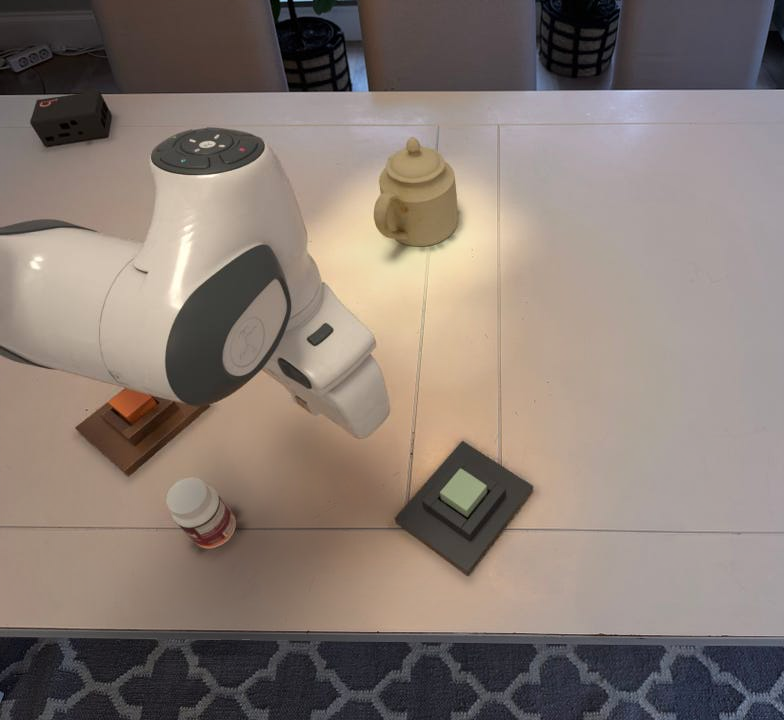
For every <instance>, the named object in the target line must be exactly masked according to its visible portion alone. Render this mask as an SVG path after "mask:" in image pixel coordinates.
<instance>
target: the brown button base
mask: <svg viewBox="0 0 784 720" xmlns="http://www.w3.org/2000/svg"><path fill="white" fill-rule="evenodd" d="M125 389H126V388H123V389H122V390H121V391H119V392H118V393H117V394H115V396H113V397H112V398H111V399H110V400H108V401H107V402H106V403H104V404H103V405H102V406H100V407H99V408H98V409H97V410H95V411H94V412H93V413H91V415H89V416H88V417H87V418H85V419H84V420H83V421H82V422H80V423H79V424H78V425H76V426H75V427H74V429H75V430H76V431H77V432H78V433H79V434H80V435H81V436H82V437H84V439H85V440H87V441H88V442H89V443H90V444H91V445H92V446H94V447H95V448H96V449H97V450H98V451H99V452H100V453H102V454H103V455H104V456H105V457H106V458H107V459H108V460H110V461H111V462H112V463H113V464H114V465H115V466H117V468H119V470H122V472H123V473H124V474H125V475H127V476H128V477H130V476H131V475H132V474H133V473H134V472H135V471H137V469H138V468H139V469H140V467H141V466H142V465H144V464H145V463H146V462H147V461H148V460H149V459H151V458H152V457H153V456H154V455H155V454H156V453H157V452H159V451H160V450H161V449H162V448H163V447H164V446H166V445H167V444H168V443H170V441H171V440H172V439H174V438H175V437H176V436H177V435H178V434H179V433H181V432H182V431H183V430H184V429H186V428H187V426H189V425H190V424H191V423H192V422H194V421H195V420H196V419H197V418H198V417H199V416H201V415H202V414H203V413H204V412H205V411H206V410H208V408H209V407H211V404H210V405H206V406H191V405H188V404H184V403H180V402H175V401H171V400H167V399H163V398H159V397H155V396H152V395H150V396H152V398H153V399H154V400H155V402H156V403H157V405H156V406H155V407H154V408H153V409H152V410H150V411H149V412H148V413H147V414H145V415H144V416H143V417H142V418H141V419H139V420H138V421H137V422H136V423H135V424H133V425H132V424H130V423H129V422H128V421H127V420H126V419H124V418H123V417H122V416H121V415H120V414H118V413H117V412H116V411H115V410H114V409H113V408H112V407H111V405H110V404H109V403H108V402H109V401H111V400H112V399H113V398H114V397H116V396H117V395H118V394H119V393H121V392H122V391H123V390H125Z"/></svg>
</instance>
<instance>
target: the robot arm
mask: <svg viewBox="0 0 784 720" xmlns="http://www.w3.org/2000/svg"><path fill="white" fill-rule="evenodd" d="M148 161H149V162H148V164H149V171H150V175H151V180H152V183H153V187H154V194H155V195H154V205H153V212H152V217H151V221H150V224H149V228H148V231H147V234H146V237H145V239H144V241H140V240H135V239H130V238H128V237H127V238H125V237H122V236H116V235H112V234H107V233H103V232H100V231H97V230H95V229H91V228H87V227H85V226H81V225H77V224H74V223H71V222H68V221H64V220H59V219H53V218H52V219H50V218H43V219H42V218H41V219H31V220H27V221H21V222H17V223H12V224H8V225H5V226H1V227H0V356H1V357H3V358H5V359H8V360H10V361H13V362H15V363H19V364H23V365H28V366H33V367H37V368H42V369H46V370H54V371H60V372H64V373H67V374H72V375H75V376H78V377H83V378H86V379H90V380H94V381H98V382H101V383H105V384H107V385H108V384H109V385H112V386H116V387H120V388H122V389H125V388H127V389H130V390H133V391H137V392H141V393H144V394H148V395H152V396H155V397H159V398H163V399H167V400H171V401H175V402H180V403H184V404H188V405H191V406H206V405H210V406H211V405H212V404H215V403H218V402H220V401H222V400H224V399H226V398H228V397H230V396H231V395H234V394H235V393H236V392H237V391H239V390H240V389H242V388H243V387H244V386H245V385H247V383H249V382H250V381H251V380H252V379H253V378H254V377H256V375H257V374H259V373H260V371H262V372H263V373H265V374H267V375H268V376H269V377H270V378H271V379H273V380H275V381H276V382H277V383H279V384H280V385H282V386H283V387H284V388H285V389H286V391H287V392H288V393H289V394H290V396H291V398H292V400H293V403H295V404H297V405H298V406H300V407H301V408H302V409H304V410H305V411H307V412H308V413H309V414H311V416H313V417H316V418H317V417H319V416H320V415H321V414H322V415H323V416H325V417H326V418H327V419H329V420H330V421H332V422H333V423H335V425H337V426H339V427H340V428H341V429H343V430H344V431H346V432H347V433H348V434H350V435H351V436H352V437H354V438H355V439H358V440H364V439H367V438H369V437H370V436H372V435H373V433H375V432H376V431H377V430H378V429H379V428H380V427H381V426H382V425H383V424H384V423H385V421H386V420H387V419H388V417H389V416H390V413H391V403H390V398H389V393H388V389H387V385H386V381H385V378H384V374H383V371H382V370H381V366H380V365H379V363H378V362H377V360H376V359H375V357H374V356H373V355H372V353H373V351H374V350H375V349H376V348H377V340H376V337H375V334H374V332H373V331H372V330H371V329H370V328H369V327H368V326H366V325H365V324H364V323H363V322H362V321H361V319H359V318H358V317H357V316H356V315H355V314H353V313H352V312H351V310H349V308H347V307H346V306H345V304H343V302H342V301H341V300H340V299H339V298H338V297H337V296H336V294H335V292H334V291H333V290H332V289H331V287H330V286H329V285H328V284H327V283H326V282H325V281H323V280H322V277H321V273H320V270H319V267H318V265H317V263H316V261H315V260H314V257H313V256H312V255H311V254H310V253H309V251H308V242H309V239H308V231H307V227H306V223H305V219H304V217H303V213H302V211H301V209H300V208H301V207H300V205H299V202H298V199H297V195H296V193H295V191H294V188H293V185H292V184H291V181H290V178H289V176H288V174H287V172H286V170H285V168H284V166H283V164H282V162H281V160H280V159H279V157H278V155H277V154H276V153H275V151H274V149H273V148H272V147H271V146H270V145H269V144H268V143H267V141H265V140H264V139H263V138H262V137H260V136H257V135H255V134H253V133H250V132H246V131H243V130H242V131H241V130H236V129H230V128H224V127H223V128H222V127H210V126H209V127H208V126H207V127H203V128H202V127H201V128H197V129H188V130H185V131H181V132H178V133H176V134H174V135H171V136H170V137H168V138H166V139H164V140H163V141H161V142H160V143H158V144H157V145H156V146H155V147H154V148H153V149H152V150H151V152H150V155H149V158H148Z"/></svg>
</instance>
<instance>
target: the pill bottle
mask: <svg viewBox="0 0 784 720" xmlns="http://www.w3.org/2000/svg"><path fill="white" fill-rule="evenodd" d="M165 502H166V507H167V508H168V510H169V511H170V513H171V517H172V519H173V521H174V522H175V524H177V526H178V527H180V529H182V530H183V532H184V533H185V534H186V535H187V536H188V537H189V538H190V539H191V541H193V542H194V544H196V545H197V546H198V547H200V548H203V549H215V548H218V547H221V546H222V545H224V544H225V543H226V542H228V541H229V540H230V539H231V537H232V536H233V534H234V532H235V530H236V526H237V522H236V521H237V520H236V517H235V515H234V513H233V512H232V511H231V509H230V508H229V507H228V505H227V504H226V502H225V501H224V499H223V498H222V497H221V495H219V493H218V492H217V491H216V489H214V488H213V487H212V486H210V485H208V484H206V483H205V482H204V481H203V480H202V479H201V478H198V477H194V476H190V477H185V478H182V479H180V480H178V481H176V482H175V483H174V484H173V485H172V486H171V487H170V489H168V492H167V494H166V497H165Z"/></svg>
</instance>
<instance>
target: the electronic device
mask: <svg viewBox="0 0 784 720" xmlns="http://www.w3.org/2000/svg"><path fill="white" fill-rule="evenodd" d="M111 119H112V113H111V110H110V108H109V106H108V105H107V102H106V101H105V98H104V97H103V95H102V93H101V91H100V90H96V91H88V92H82V93H75V94H68V95H62V96H57V97H56V96H55V97H54V96H53V97H47V98H41V99H37V100H36V102H35V105H34V107H33V111H32V114H31V117H30V121H29V123H30V125H31V127H32V128H33V130H34V132H35V133H36V135H37V136H38V138H39V140H40V141H41V143H42V144H43V146H44V147H49V146H55V145H60V144H61V145H62V144H67V143H68V144H69V143H74V142H82V141H88V140H94V139H101V138H105V137H106V138H107V137H108V136H109V132H110V131H109V130H110V124H111Z"/></svg>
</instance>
